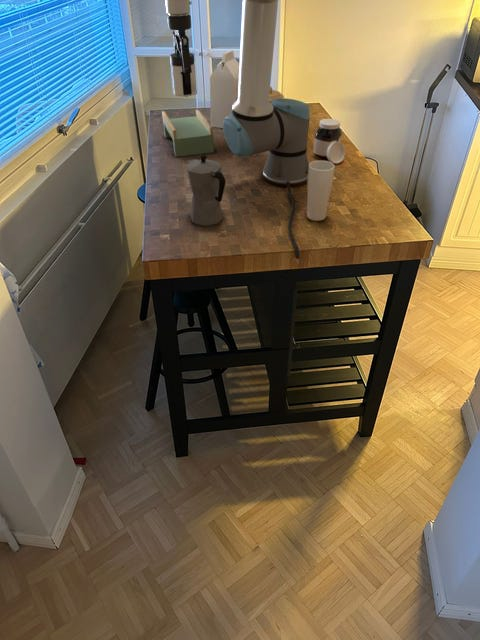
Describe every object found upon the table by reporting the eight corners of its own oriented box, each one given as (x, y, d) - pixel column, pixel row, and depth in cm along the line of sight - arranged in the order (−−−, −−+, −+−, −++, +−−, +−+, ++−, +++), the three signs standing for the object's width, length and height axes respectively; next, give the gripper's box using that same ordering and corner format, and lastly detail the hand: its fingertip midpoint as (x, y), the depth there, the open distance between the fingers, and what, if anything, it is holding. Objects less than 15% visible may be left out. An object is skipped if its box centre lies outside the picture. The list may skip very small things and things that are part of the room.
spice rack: (213, 152, 170) (212, 125, 164) (175, 156, 167) (173, 130, 161) (199, 132, 186) (198, 107, 180) (164, 136, 183) (161, 111, 177)
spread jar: (323, 149, 171) (326, 115, 164) (351, 156, 166) (356, 121, 159) (306, 160, 164) (309, 125, 156) (336, 167, 159) (340, 132, 151)
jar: (182, 98, 160) (179, 59, 153) (167, 93, 165) (163, 55, 157) (202, 93, 165) (200, 54, 157) (187, 88, 170) (184, 50, 162)
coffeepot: (179, 214, 134) (173, 152, 123) (206, 204, 139) (202, 143, 127) (211, 236, 125) (208, 170, 114) (239, 224, 130) (238, 160, 118)
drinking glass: (311, 225, 129) (317, 172, 119) (299, 214, 134) (303, 162, 124) (333, 220, 131) (340, 167, 121) (320, 209, 136) (326, 158, 126)
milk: (235, 130, 188) (234, 56, 171) (210, 126, 191) (206, 54, 174) (248, 121, 196) (248, 50, 179) (223, 117, 200) (221, 47, 183)
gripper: (198, 18, 143) (202, 98, 157) (183, 8, 159) (188, 81, 173) (173, 20, 141) (180, 100, 156) (161, 10, 157) (168, 83, 172)
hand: (184, 90), depth 164 cm, fingers closed on jar, 9 cm apart
